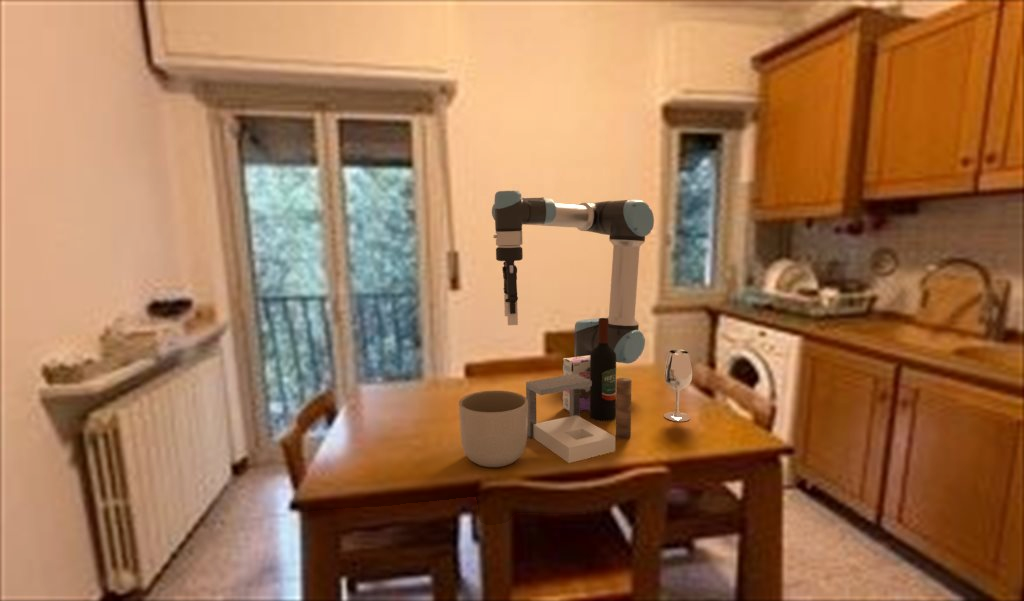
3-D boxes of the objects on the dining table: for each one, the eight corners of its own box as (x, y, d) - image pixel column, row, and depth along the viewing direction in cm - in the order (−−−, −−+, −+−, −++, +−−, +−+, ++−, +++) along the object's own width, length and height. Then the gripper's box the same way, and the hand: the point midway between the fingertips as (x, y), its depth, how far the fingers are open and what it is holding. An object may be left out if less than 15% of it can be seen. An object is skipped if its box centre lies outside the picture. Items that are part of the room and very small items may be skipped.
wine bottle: (600, 410, 175) (600, 315, 170) (620, 416, 169) (621, 318, 165) (584, 417, 170) (585, 319, 165) (605, 423, 164) (606, 322, 160)
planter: (532, 472, 134) (531, 411, 132) (460, 476, 133) (458, 414, 130) (524, 443, 151) (524, 389, 148) (460, 446, 149) (459, 391, 147)
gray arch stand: (575, 425, 163) (575, 373, 160) (591, 435, 156) (591, 380, 153) (526, 436, 156) (526, 381, 153) (541, 446, 149) (540, 389, 146)
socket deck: (576, 428, 161) (576, 415, 160) (615, 451, 145) (615, 436, 144) (533, 437, 154) (533, 424, 154) (568, 463, 139) (568, 447, 138)
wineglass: (658, 417, 168) (660, 352, 165) (671, 410, 174) (672, 347, 171) (683, 424, 163) (685, 356, 160) (695, 416, 168) (697, 351, 165)
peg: (624, 432, 157) (625, 377, 155) (633, 437, 154) (634, 380, 151) (612, 435, 155) (613, 379, 153) (621, 440, 152) (622, 382, 149)
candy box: (571, 414, 172) (571, 362, 170) (562, 408, 177) (561, 357, 175) (609, 407, 178) (610, 356, 175) (599, 402, 183) (599, 352, 180)
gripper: (493, 244, 171) (495, 313, 174) (498, 249, 147) (500, 329, 150) (518, 243, 172) (520, 312, 175) (526, 248, 147) (528, 328, 150)
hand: (511, 320), depth 162 cm, fingers open, 13 cm apart
